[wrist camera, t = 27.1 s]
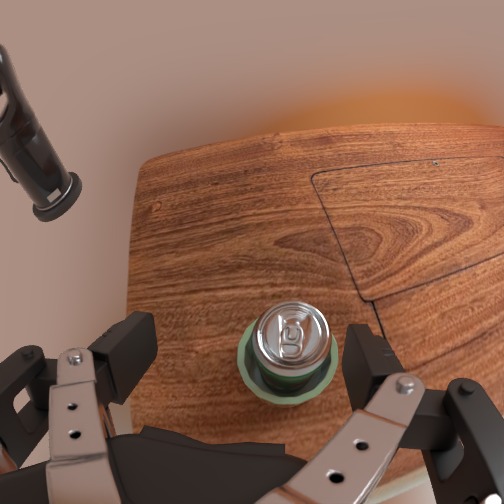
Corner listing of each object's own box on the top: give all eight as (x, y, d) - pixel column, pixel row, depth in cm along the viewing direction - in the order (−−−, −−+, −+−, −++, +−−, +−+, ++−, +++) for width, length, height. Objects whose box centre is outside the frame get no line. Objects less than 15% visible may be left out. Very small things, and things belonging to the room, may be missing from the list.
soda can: (314, 346, 28) (337, 298, 18) (309, 396, 25) (331, 378, 15) (264, 341, 29) (256, 290, 18) (256, 390, 26) (242, 369, 16)
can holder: (232, 389, 27) (220, 380, 21) (264, 320, 31) (261, 295, 25) (307, 419, 25) (316, 418, 19) (336, 346, 28) (350, 327, 23)
